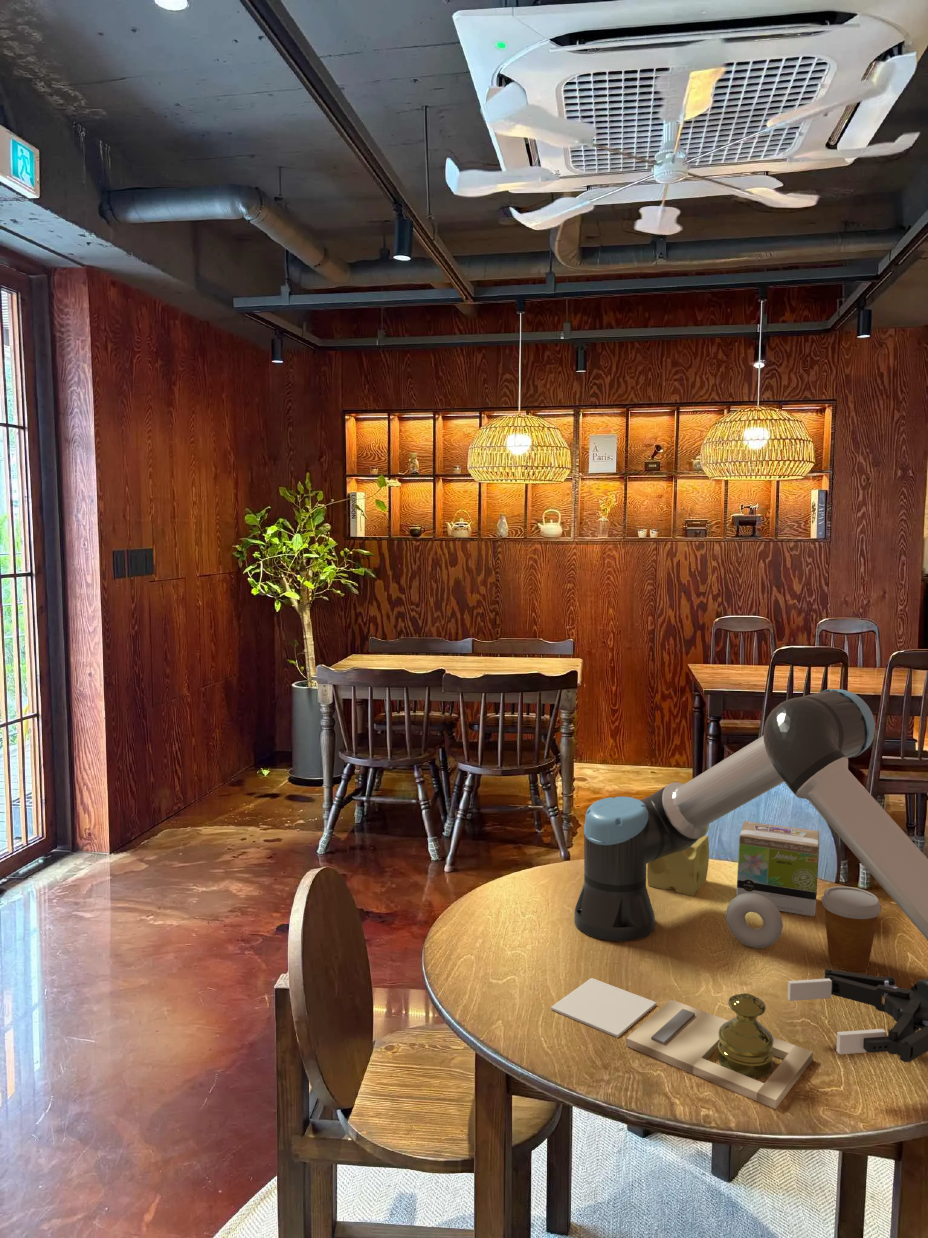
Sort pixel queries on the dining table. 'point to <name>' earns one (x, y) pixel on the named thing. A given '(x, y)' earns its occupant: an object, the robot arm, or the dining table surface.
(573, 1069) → the dining table surface
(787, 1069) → the light wooden flat frame
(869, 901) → the disposable coffee cup
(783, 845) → the tea box
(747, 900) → the donut
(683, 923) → the dining table surface
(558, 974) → the dining table surface
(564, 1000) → the mat
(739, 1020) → the brass bell weight
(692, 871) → the cheese
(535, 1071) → the dining table surface
